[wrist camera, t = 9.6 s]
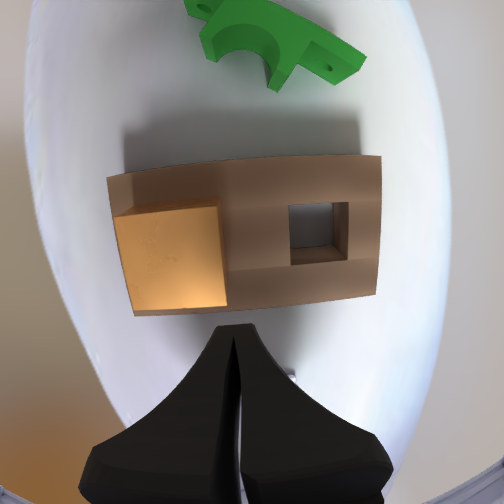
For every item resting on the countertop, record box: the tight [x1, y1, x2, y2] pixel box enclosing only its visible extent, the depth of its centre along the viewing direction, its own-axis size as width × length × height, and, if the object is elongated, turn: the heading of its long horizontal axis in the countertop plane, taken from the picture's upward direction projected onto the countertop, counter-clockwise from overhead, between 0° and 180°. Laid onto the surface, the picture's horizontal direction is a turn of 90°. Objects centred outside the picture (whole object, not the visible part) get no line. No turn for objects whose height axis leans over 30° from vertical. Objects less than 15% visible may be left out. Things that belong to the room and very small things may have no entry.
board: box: [107, 155, 382, 316], centre depth 18 cm, size 9×16×3 cm, turn 94°
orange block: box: [114, 197, 228, 310], centre depth 17 cm, size 5×5×6 cm
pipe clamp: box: [184, 0, 367, 92], centre depth 14 cm, size 11×4×5 cm, turn 61°
